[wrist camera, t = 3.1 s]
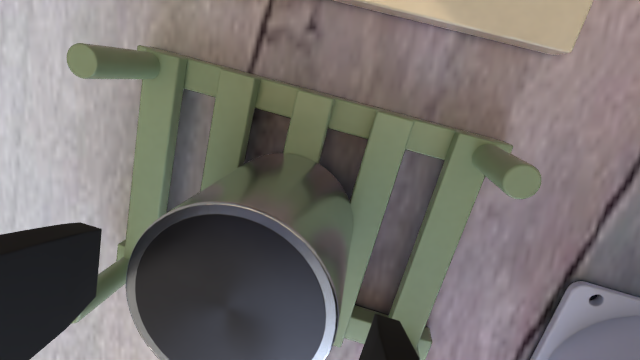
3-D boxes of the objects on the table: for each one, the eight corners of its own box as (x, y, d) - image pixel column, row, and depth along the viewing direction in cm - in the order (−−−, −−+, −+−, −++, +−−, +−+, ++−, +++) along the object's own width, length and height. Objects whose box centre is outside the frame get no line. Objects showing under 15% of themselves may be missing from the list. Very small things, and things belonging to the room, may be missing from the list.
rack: (505, 141, 14) (569, 171, 10) (421, 348, 17) (438, 449, 13) (151, 47, 15) (51, 31, 11) (128, 256, 18) (42, 317, 14)
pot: (370, 174, 14) (367, 241, 8) (333, 297, 15) (308, 426, 10) (232, 136, 14) (135, 173, 8) (210, 259, 16) (115, 361, 10)
